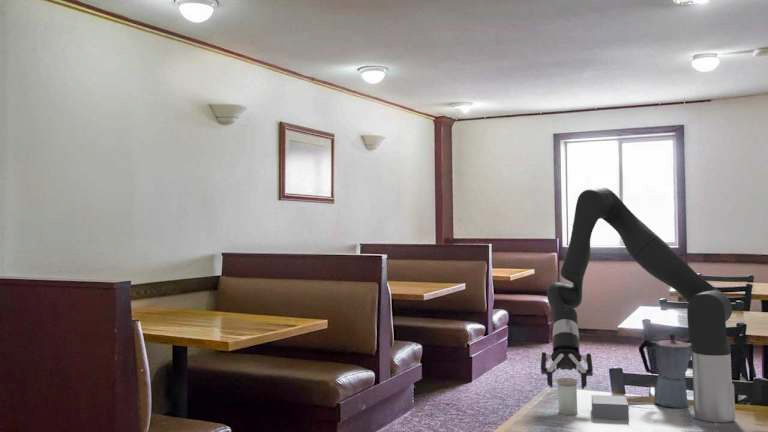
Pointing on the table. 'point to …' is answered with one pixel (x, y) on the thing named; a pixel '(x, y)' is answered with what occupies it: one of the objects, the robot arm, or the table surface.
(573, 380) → the canister
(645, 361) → the moka pot
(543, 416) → the table surface
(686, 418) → the table surface
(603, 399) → the stand
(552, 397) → the table surface
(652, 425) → the table surface
